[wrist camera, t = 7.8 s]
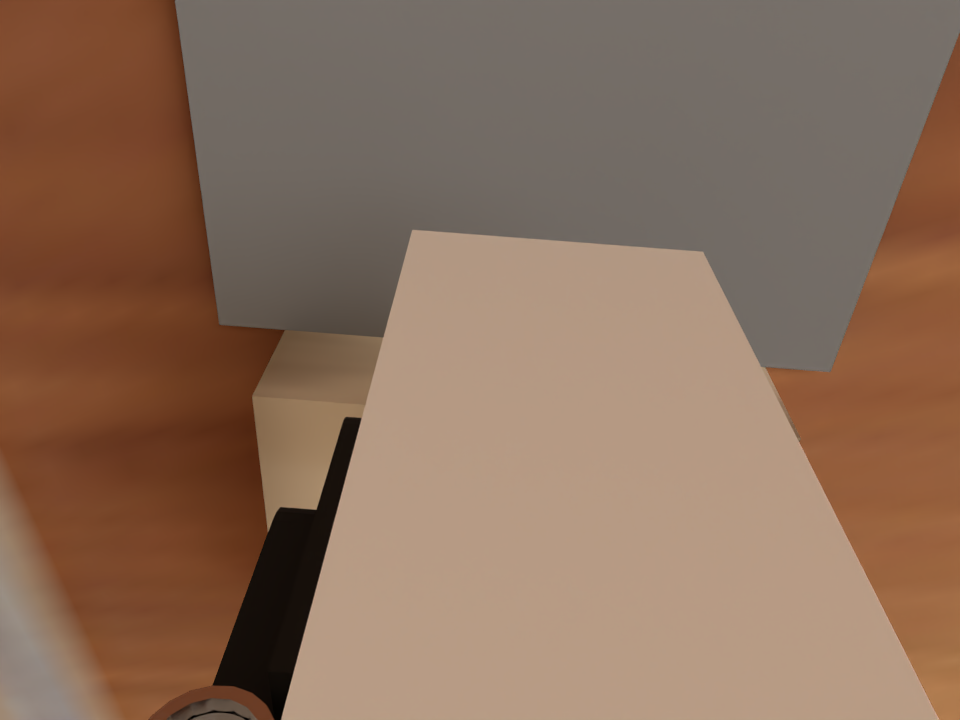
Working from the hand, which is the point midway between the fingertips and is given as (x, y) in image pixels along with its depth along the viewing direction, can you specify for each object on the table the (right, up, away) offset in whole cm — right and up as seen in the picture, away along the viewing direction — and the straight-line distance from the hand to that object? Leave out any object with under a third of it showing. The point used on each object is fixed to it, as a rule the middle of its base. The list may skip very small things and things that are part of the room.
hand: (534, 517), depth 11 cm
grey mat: (+1, +7, +4) cm, 8 cm away
